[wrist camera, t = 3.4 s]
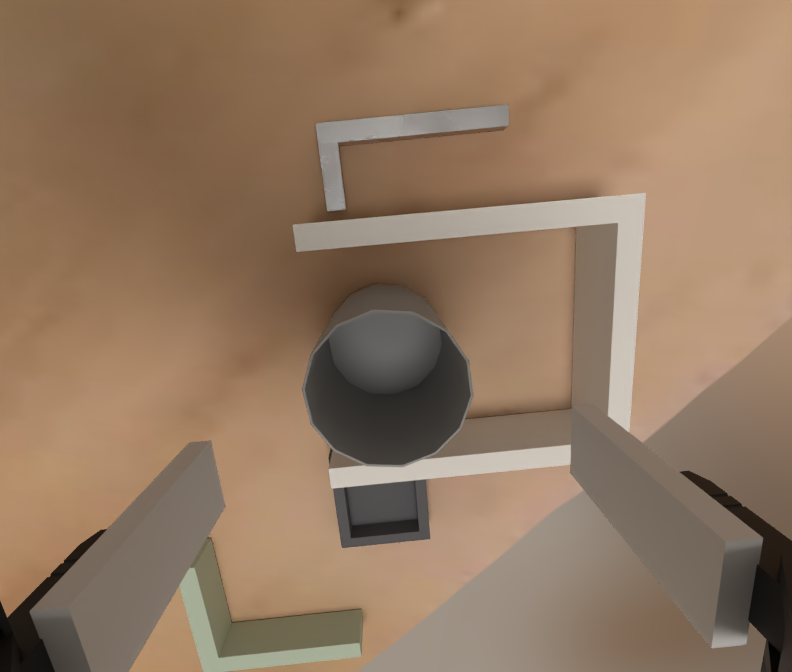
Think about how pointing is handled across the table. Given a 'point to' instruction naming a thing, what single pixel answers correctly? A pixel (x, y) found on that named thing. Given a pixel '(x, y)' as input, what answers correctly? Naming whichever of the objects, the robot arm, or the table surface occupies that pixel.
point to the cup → (387, 379)
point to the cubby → (592, 333)
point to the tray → (382, 513)
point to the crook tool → (395, 137)
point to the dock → (259, 627)
